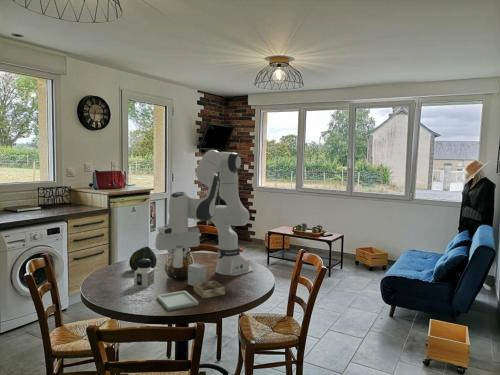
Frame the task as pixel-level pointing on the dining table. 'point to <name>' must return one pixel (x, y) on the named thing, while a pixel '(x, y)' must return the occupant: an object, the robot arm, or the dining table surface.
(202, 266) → the small box
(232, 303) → the dining table surface
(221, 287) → the open wooden frame
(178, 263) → the canister
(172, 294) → the tray
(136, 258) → the squash
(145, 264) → the container
